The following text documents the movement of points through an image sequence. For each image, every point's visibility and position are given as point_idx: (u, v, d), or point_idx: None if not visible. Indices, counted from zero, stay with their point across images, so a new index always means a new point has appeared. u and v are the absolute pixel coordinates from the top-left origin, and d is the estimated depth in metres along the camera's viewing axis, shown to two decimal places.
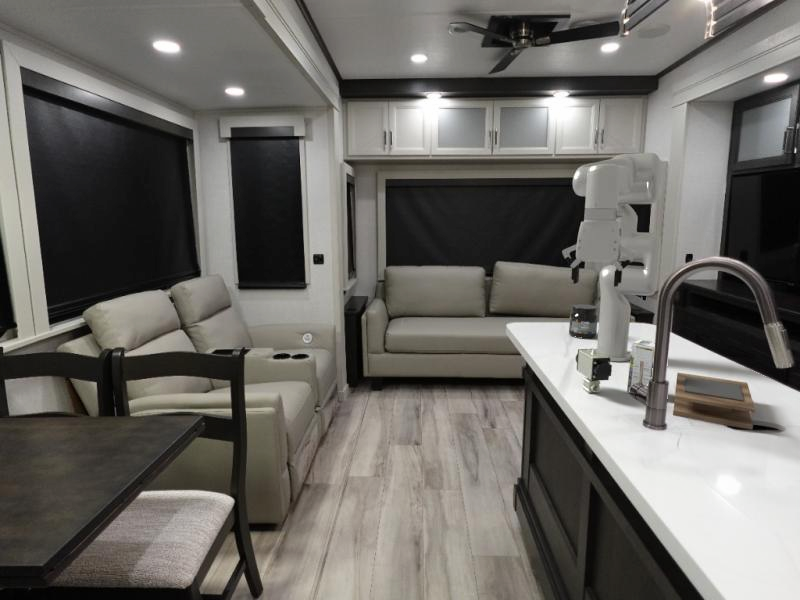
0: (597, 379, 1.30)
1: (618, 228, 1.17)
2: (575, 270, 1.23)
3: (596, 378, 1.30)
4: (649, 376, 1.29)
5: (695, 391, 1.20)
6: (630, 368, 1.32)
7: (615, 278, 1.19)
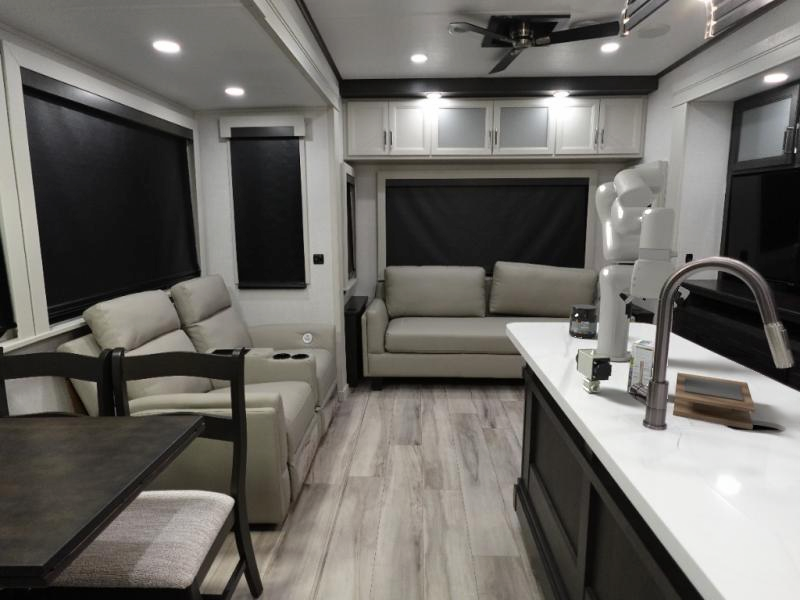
0: (597, 379, 1.30)
1: (673, 267, 1.23)
2: (629, 306, 1.30)
3: (596, 378, 1.30)
4: (649, 376, 1.29)
5: (695, 391, 1.20)
6: (630, 368, 1.32)
7: None
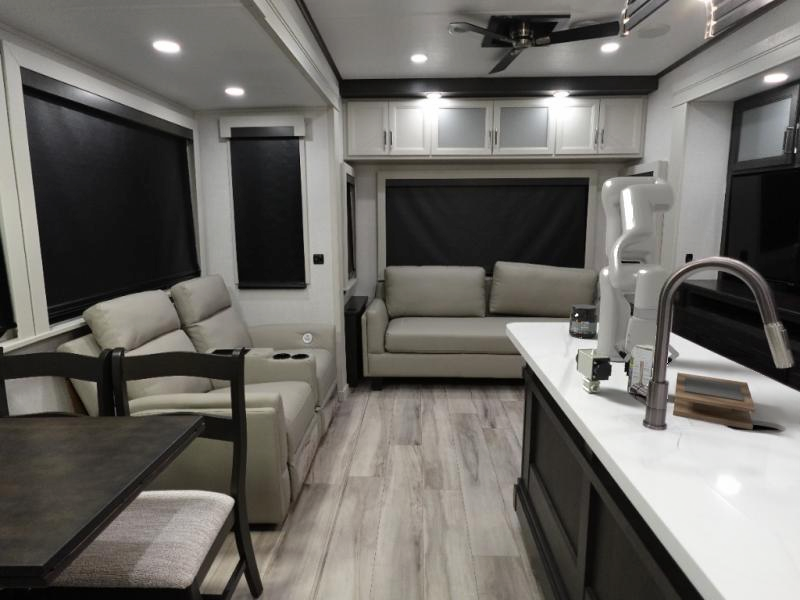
0: (597, 379, 1.30)
1: None
2: (628, 364, 1.32)
3: (596, 378, 1.30)
4: (649, 376, 1.29)
5: (695, 391, 1.20)
6: (630, 368, 1.32)
7: None
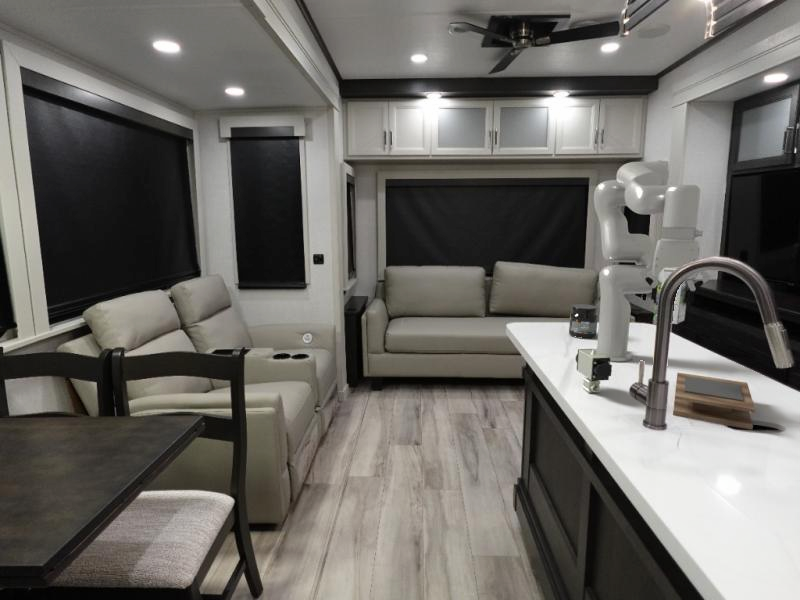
0: (597, 379, 1.30)
1: (697, 247, 1.19)
2: (656, 290, 1.26)
3: (596, 378, 1.30)
4: (678, 301, 1.22)
5: (695, 391, 1.20)
6: (657, 294, 1.25)
7: (688, 298, 1.22)
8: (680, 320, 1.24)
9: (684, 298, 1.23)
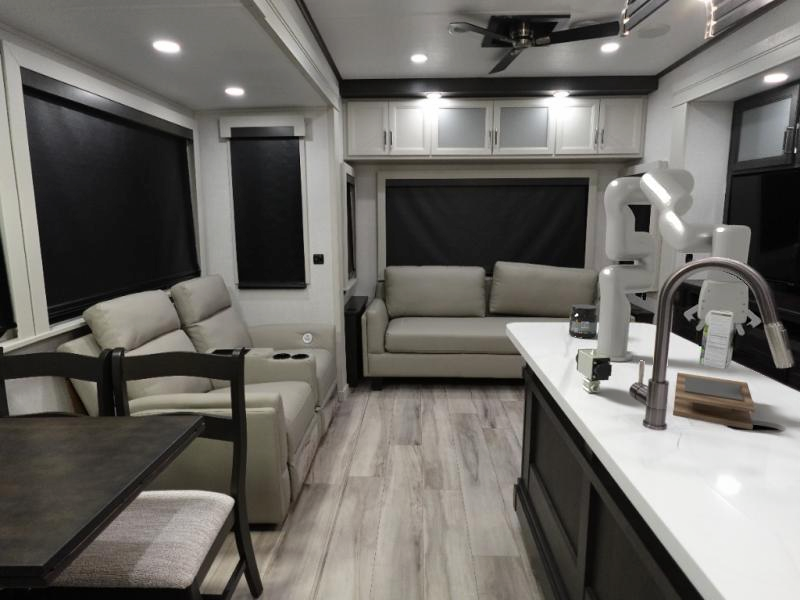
0: (597, 379, 1.30)
1: (747, 290, 1.15)
2: (701, 333, 1.21)
3: (596, 378, 1.30)
4: (726, 345, 1.17)
5: (695, 391, 1.20)
6: (704, 337, 1.20)
7: (736, 342, 1.17)
8: (727, 364, 1.19)
9: (732, 342, 1.19)
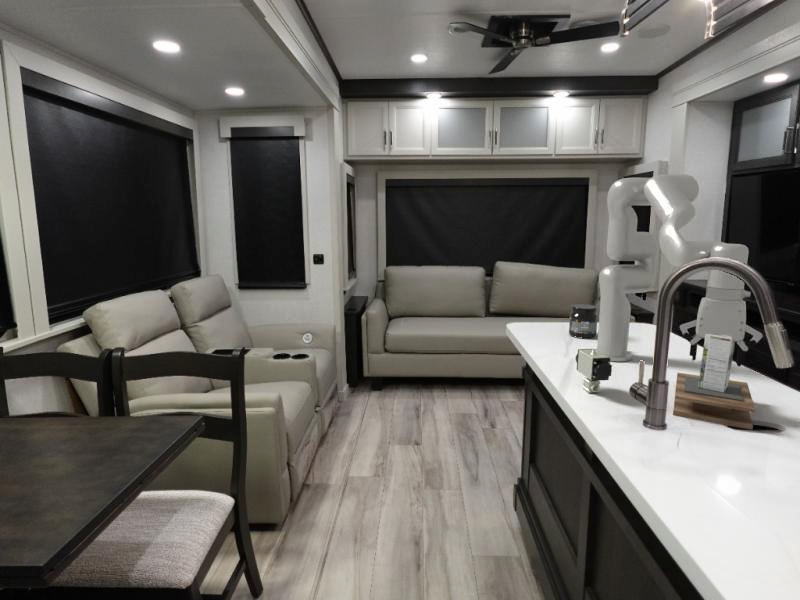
0: (597, 379, 1.30)
1: (745, 308, 1.15)
2: (695, 347, 1.22)
3: (596, 378, 1.30)
4: (725, 369, 1.18)
5: (695, 391, 1.20)
6: (703, 360, 1.21)
7: (739, 358, 1.17)
8: (726, 387, 1.20)
9: (730, 365, 1.20)
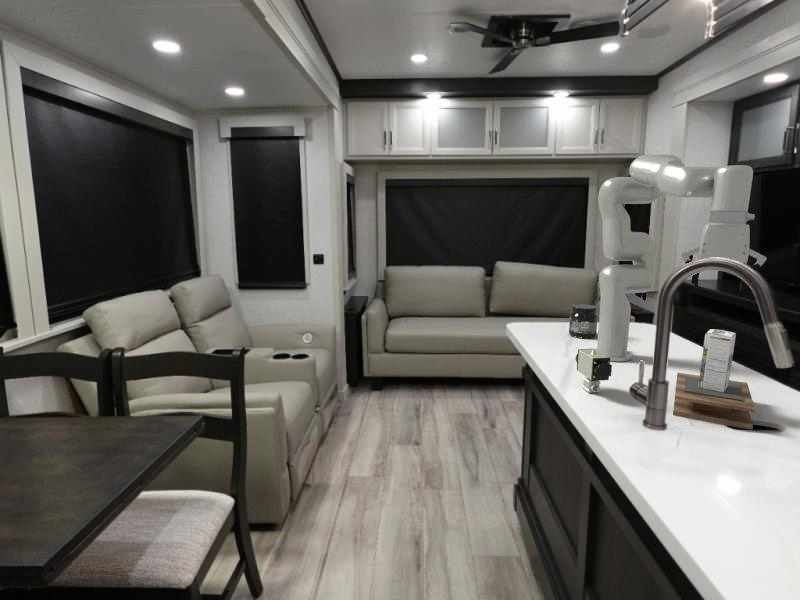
0: (597, 379, 1.30)
1: (748, 231, 1.14)
2: (697, 274, 1.20)
3: (596, 378, 1.30)
4: (725, 369, 1.18)
5: (695, 391, 1.20)
6: (703, 360, 1.21)
7: (743, 283, 1.16)
8: (726, 387, 1.20)
9: (730, 365, 1.20)
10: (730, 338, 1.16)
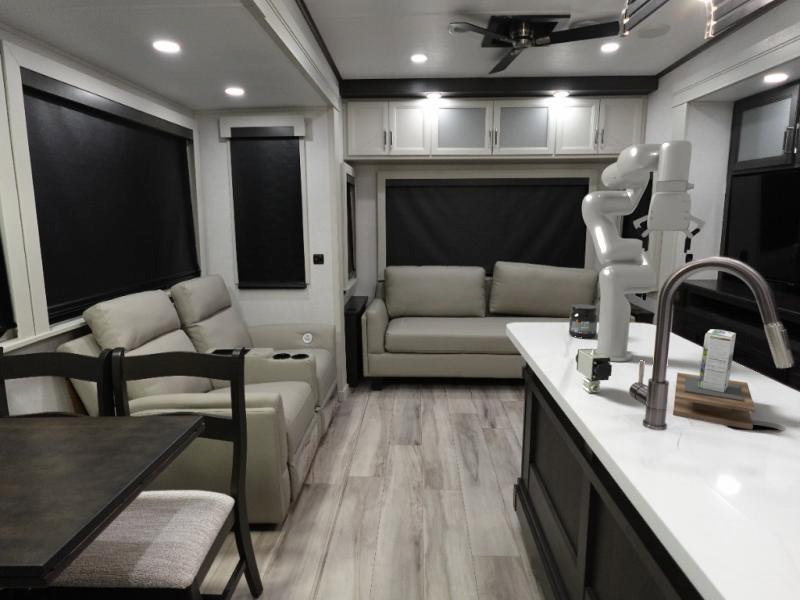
0: (597, 379, 1.30)
1: (689, 199, 1.28)
2: (646, 239, 1.34)
3: (596, 378, 1.30)
4: (725, 369, 1.18)
5: (695, 391, 1.20)
6: (703, 360, 1.21)
7: (685, 245, 1.30)
8: (726, 387, 1.20)
9: (730, 365, 1.20)
10: (730, 338, 1.16)
